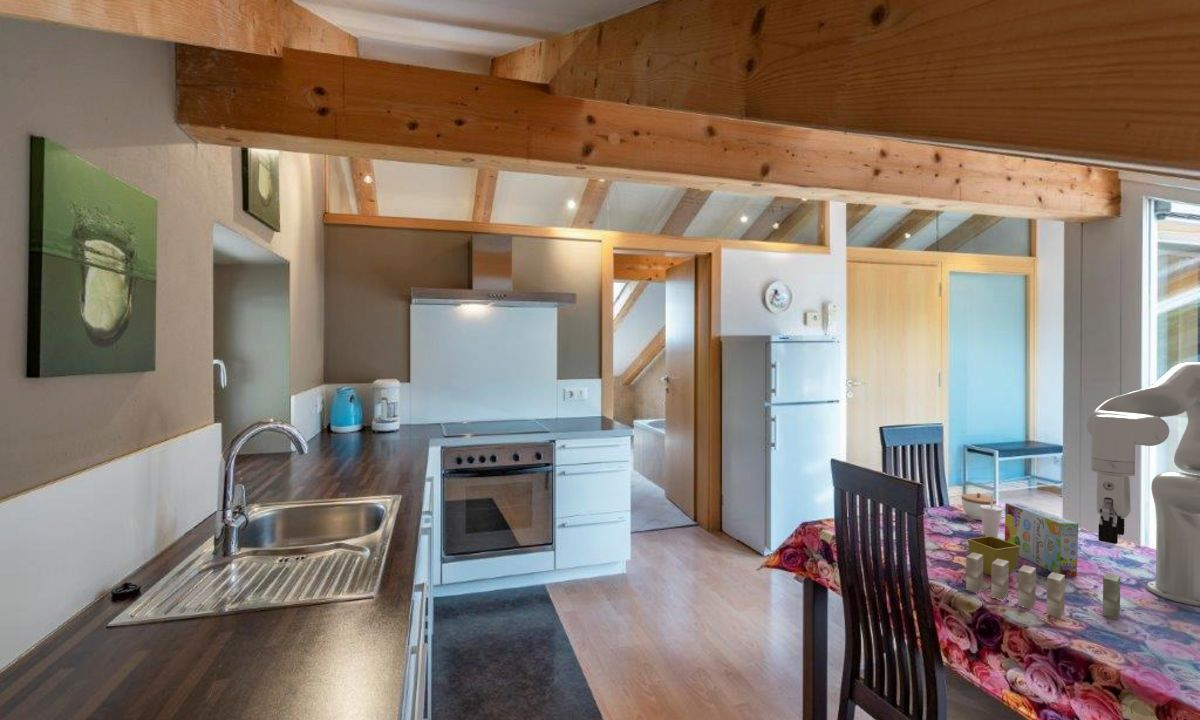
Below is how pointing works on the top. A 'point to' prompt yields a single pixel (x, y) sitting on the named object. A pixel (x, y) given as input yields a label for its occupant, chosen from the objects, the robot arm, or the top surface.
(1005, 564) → the domino
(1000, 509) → the smoothie
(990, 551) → the flower pot
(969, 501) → the lidded jar
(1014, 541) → the snack box
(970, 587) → the domino
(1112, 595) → the domino
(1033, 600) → the domino
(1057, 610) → the domino
